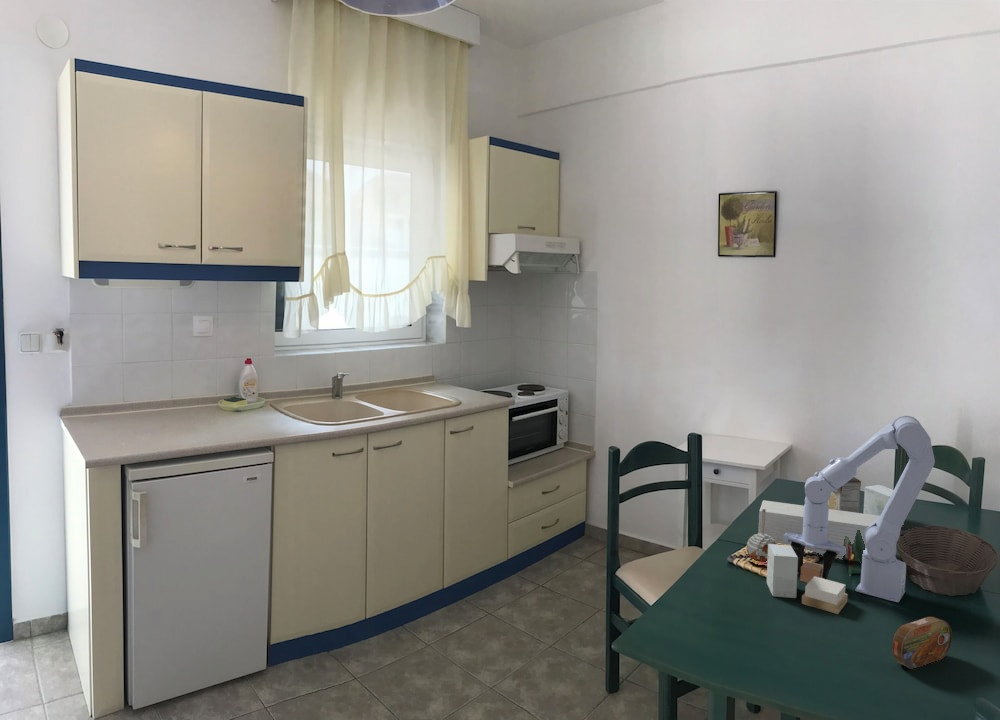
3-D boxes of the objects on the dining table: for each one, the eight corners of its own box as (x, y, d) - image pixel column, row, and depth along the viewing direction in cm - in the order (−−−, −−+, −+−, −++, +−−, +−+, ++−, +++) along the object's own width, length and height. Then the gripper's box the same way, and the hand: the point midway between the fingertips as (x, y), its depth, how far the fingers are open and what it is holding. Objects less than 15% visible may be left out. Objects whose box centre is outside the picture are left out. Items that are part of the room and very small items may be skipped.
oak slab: (846, 603, 163) (847, 594, 163) (837, 616, 157) (838, 606, 157) (811, 593, 168) (812, 584, 168) (801, 605, 162) (802, 595, 162)
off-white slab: (844, 594, 163) (845, 584, 162) (836, 605, 157) (837, 594, 157) (813, 585, 167) (814, 576, 167) (804, 595, 162) (805, 585, 162)
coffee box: (824, 520, 218) (827, 472, 216) (844, 521, 218) (847, 472, 216) (837, 531, 209) (841, 480, 207) (858, 531, 209) (862, 480, 207)
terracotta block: (824, 580, 175) (824, 565, 175) (818, 586, 172) (819, 571, 171) (805, 575, 178) (806, 560, 177) (800, 581, 175) (801, 566, 174)
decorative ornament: (763, 570, 181) (766, 516, 179) (740, 560, 187) (742, 507, 186) (783, 564, 185) (785, 510, 183) (759, 554, 191) (761, 502, 190)
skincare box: (861, 517, 222) (864, 485, 220) (878, 515, 223) (880, 484, 222) (887, 528, 212) (889, 495, 210) (904, 526, 213) (906, 494, 212)
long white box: (757, 546, 198) (759, 510, 196) (761, 534, 207) (763, 500, 206) (883, 567, 184) (886, 528, 182) (881, 552, 193) (884, 516, 192)
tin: (902, 673, 133) (905, 633, 132) (887, 665, 136) (890, 625, 135) (952, 656, 139) (955, 617, 138) (937, 649, 142) (940, 611, 141)
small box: (796, 599, 164) (798, 557, 163) (772, 597, 166) (774, 555, 164) (789, 584, 172) (791, 544, 171) (766, 582, 173) (767, 543, 172)
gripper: (780, 521, 175) (778, 572, 176) (841, 535, 165) (838, 588, 167) (789, 514, 180) (787, 563, 182) (849, 527, 171) (846, 579, 172)
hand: (812, 575), depth 175 cm, fingers open, 5 cm apart
